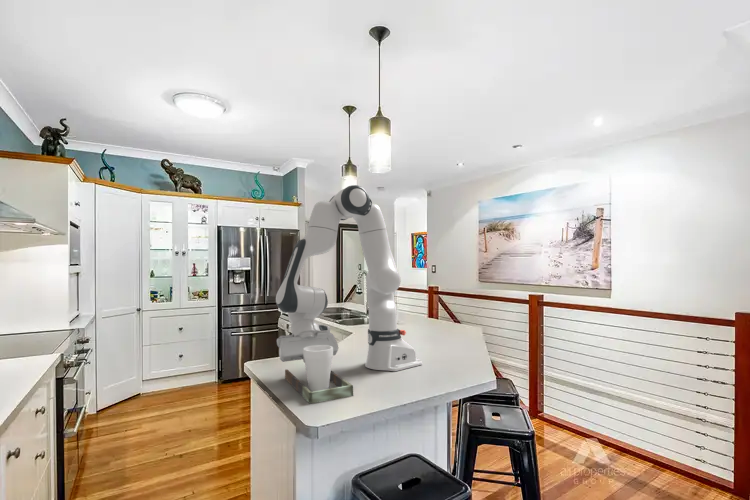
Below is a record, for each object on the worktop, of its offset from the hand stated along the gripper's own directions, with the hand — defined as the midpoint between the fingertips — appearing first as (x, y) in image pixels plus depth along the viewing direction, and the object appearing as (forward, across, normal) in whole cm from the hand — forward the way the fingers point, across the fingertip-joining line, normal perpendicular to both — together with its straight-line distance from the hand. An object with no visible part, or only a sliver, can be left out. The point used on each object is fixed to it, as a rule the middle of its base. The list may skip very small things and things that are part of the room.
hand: (313, 368), depth 125 cm
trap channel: (+5, 0, +2) cm, 6 cm away
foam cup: (+8, 0, 0) cm, 8 cm away
